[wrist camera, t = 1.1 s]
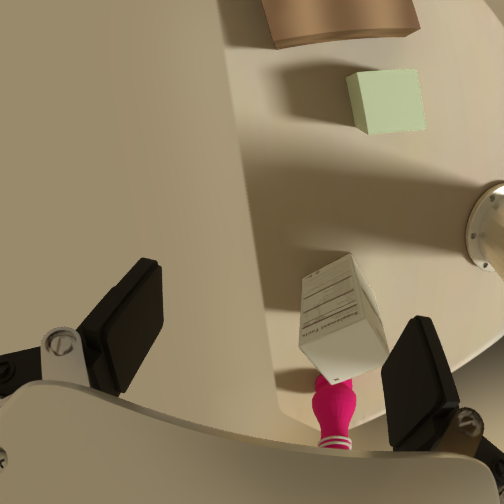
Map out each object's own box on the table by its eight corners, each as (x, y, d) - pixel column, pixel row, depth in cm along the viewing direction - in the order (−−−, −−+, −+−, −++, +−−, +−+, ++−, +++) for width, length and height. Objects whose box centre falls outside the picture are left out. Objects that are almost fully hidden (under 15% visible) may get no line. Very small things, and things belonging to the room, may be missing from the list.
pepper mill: (304, 377, 48) (296, 486, 31) (343, 362, 45) (348, 477, 28) (324, 397, 50) (321, 497, 33) (360, 384, 47) (367, 489, 30)
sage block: (394, 73, 26) (416, 69, 20) (402, 122, 28) (426, 129, 22) (345, 77, 27) (356, 72, 21) (355, 127, 29) (368, 134, 23)
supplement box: (375, 292, 38) (393, 363, 27) (327, 315, 41) (329, 387, 30) (351, 249, 36) (368, 317, 25) (300, 276, 39) (295, 348, 28)
